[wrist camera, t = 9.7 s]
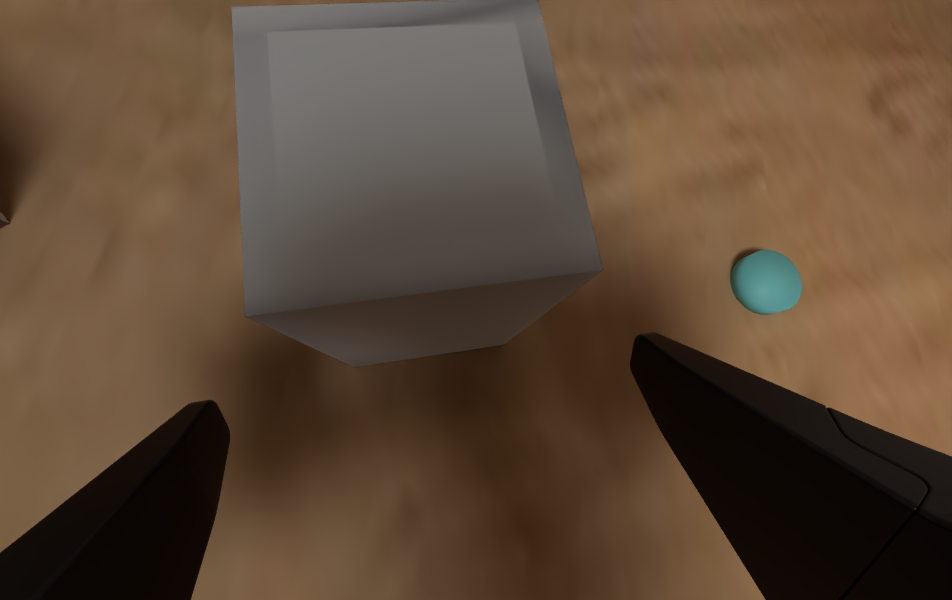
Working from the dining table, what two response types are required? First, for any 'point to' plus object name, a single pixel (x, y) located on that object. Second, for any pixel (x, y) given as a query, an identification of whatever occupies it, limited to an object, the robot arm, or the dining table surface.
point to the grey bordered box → (404, 176)
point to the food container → (3, 221)
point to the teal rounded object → (766, 282)
